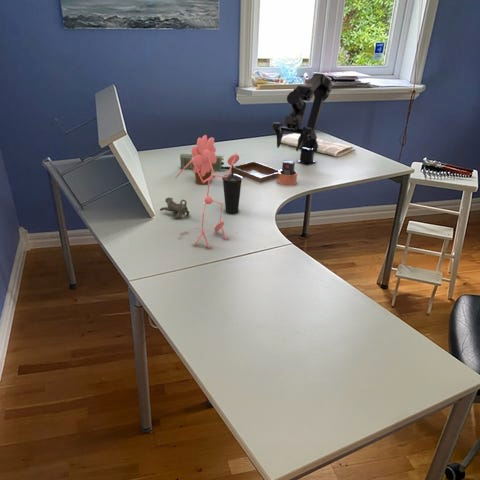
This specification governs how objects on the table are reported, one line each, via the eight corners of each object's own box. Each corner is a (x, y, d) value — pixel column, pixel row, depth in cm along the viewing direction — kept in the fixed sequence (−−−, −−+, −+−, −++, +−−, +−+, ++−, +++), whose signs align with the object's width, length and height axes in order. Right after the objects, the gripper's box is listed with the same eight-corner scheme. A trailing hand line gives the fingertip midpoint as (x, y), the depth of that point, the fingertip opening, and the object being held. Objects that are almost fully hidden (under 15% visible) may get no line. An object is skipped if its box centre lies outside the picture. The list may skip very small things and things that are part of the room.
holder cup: (286, 178, 224) (287, 168, 221) (299, 183, 219) (301, 172, 216) (274, 182, 219) (274, 171, 217) (287, 187, 215) (288, 176, 212)
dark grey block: (282, 180, 221) (284, 160, 215) (293, 182, 219) (294, 162, 214) (280, 182, 218) (282, 162, 213) (291, 184, 217) (292, 163, 212)
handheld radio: (181, 166, 234) (233, 169, 232) (180, 169, 232) (232, 172, 230) (181, 153, 230) (233, 155, 228) (179, 155, 227) (233, 158, 226)
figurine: (242, 232, 177) (246, 131, 157) (194, 257, 160) (191, 149, 140) (210, 220, 184) (209, 123, 164) (161, 243, 168) (153, 139, 147)
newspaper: (277, 143, 270) (278, 138, 269) (297, 136, 283) (298, 131, 281) (335, 157, 252) (336, 152, 250) (354, 149, 264) (354, 144, 262)
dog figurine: (192, 217, 187) (191, 198, 182) (182, 221, 183) (181, 202, 179) (169, 209, 192) (168, 190, 188) (159, 213, 189) (157, 194, 184)
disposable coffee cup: (197, 187, 213) (196, 159, 206) (189, 180, 220) (188, 153, 213) (217, 183, 216) (217, 156, 209) (208, 177, 223) (208, 150, 216)
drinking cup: (221, 208, 194) (221, 157, 183) (240, 207, 195) (241, 157, 183) (222, 215, 188) (222, 164, 177) (242, 215, 189) (243, 163, 177)
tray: (253, 166, 237) (253, 161, 236) (282, 177, 226) (282, 171, 224) (231, 172, 229) (231, 166, 228) (260, 183, 218) (260, 178, 216)
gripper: (272, 103, 212) (262, 138, 213) (313, 109, 205) (302, 145, 206) (280, 115, 222) (270, 148, 223) (318, 120, 215) (308, 155, 216)
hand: (287, 149), depth 217 cm, fingers open, 9 cm apart
